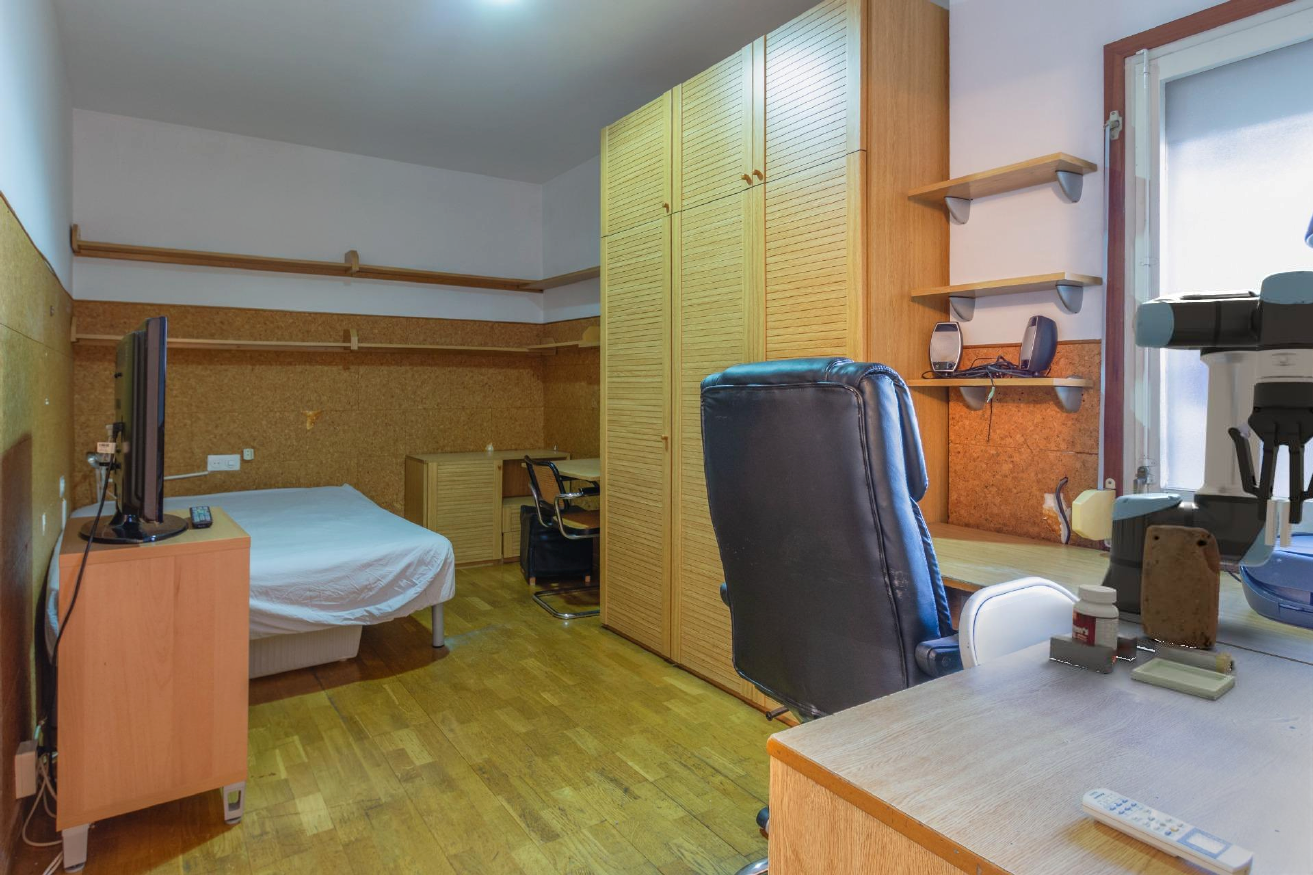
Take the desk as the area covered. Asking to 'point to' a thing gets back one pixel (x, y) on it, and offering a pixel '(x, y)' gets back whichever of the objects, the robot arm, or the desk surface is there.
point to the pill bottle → (1096, 616)
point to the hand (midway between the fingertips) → (1277, 544)
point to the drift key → (1193, 657)
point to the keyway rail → (1151, 644)
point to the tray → (1184, 678)
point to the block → (1180, 586)
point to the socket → (1091, 651)
